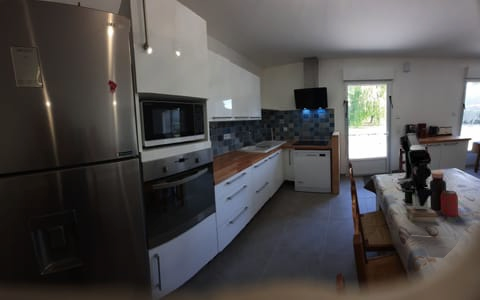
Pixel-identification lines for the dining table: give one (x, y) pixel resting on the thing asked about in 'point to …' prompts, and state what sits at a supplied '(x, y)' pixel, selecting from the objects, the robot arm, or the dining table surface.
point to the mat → (421, 222)
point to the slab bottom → (421, 218)
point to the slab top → (421, 212)
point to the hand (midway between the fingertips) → (420, 204)
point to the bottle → (437, 190)
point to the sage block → (416, 202)
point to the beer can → (449, 203)
